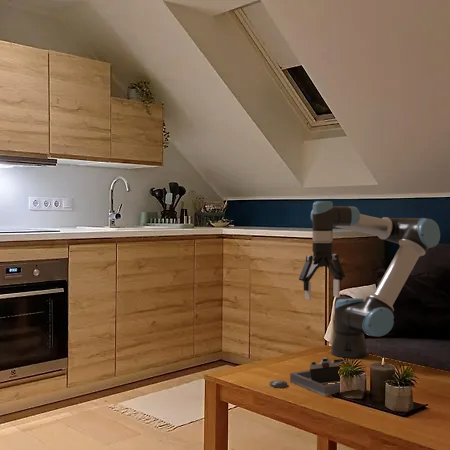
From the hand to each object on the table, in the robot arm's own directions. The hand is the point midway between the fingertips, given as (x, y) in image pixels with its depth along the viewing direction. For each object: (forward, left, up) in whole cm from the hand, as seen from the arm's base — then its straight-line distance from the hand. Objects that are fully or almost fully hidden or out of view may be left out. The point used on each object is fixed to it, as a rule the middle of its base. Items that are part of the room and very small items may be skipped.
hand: (322, 298), depth 231 cm
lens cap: (+27, +10, -27) cm, 40 cm away
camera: (+13, +20, -25) cm, 35 cm away
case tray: (+14, +18, -27) cm, 35 cm away
